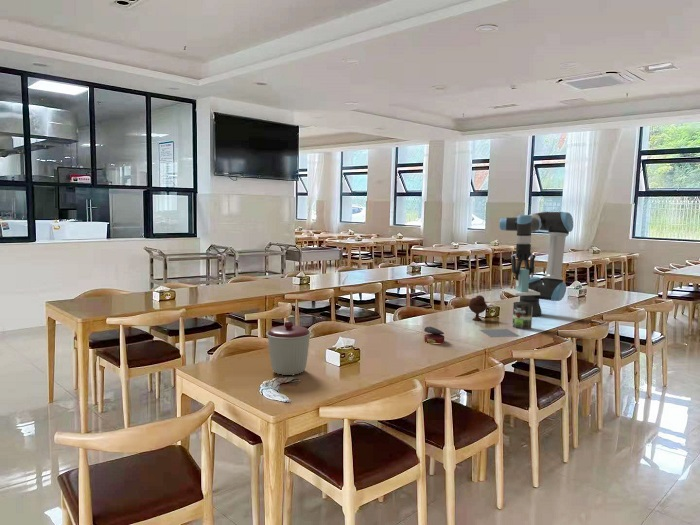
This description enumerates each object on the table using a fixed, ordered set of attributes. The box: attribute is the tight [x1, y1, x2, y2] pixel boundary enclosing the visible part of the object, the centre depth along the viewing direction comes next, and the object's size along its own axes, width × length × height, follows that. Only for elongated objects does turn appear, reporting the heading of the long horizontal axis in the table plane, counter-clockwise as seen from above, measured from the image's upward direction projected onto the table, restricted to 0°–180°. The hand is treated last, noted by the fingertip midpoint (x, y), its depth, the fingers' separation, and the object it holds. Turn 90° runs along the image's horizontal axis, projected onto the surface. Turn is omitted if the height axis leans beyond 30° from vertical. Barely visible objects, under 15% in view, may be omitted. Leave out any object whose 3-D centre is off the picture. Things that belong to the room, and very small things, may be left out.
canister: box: [265, 320, 312, 376], centre depth 209 cm, size 18×18×21 cm
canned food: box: [423, 326, 445, 344], centre depth 259 cm, size 11×10×10 cm
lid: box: [503, 267, 540, 297], centre depth 284 cm, size 14×14×13 cm
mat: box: [479, 328, 520, 338], centre depth 275 cm, size 16×16×1 cm
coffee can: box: [512, 301, 533, 331], centre depth 288 cm, size 10×10×14 cm
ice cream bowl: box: [467, 294, 488, 322], centre depth 308 cm, size 11×11×15 cm
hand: (522, 285), depth 285 cm, fingers closed on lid, 4 cm apart
